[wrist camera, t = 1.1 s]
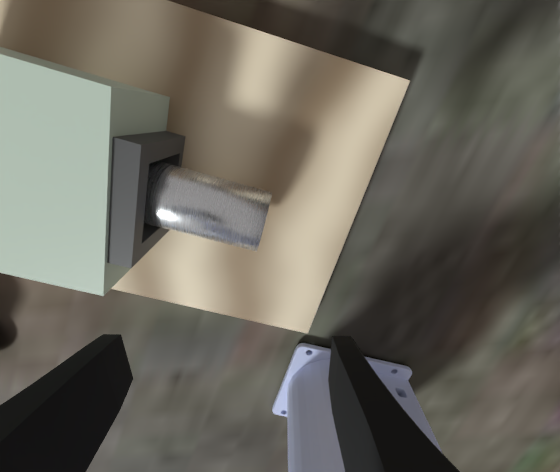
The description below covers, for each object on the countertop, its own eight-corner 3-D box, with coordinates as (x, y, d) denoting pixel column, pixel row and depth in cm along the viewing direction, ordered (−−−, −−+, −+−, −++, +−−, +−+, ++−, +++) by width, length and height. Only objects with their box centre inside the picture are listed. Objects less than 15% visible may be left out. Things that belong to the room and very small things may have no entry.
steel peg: (273, 186, 15) (270, 202, 12) (259, 236, 16) (254, 262, 13) (96, 137, 14) (48, 141, 11) (95, 194, 15) (51, 212, 12)
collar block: (190, 103, 14) (142, 95, 9) (169, 250, 17) (126, 301, 12) (-3, 45, 13) (-166, 5, 8) (13, 212, 16) (-97, 250, 11)
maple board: (398, 84, 15) (410, 80, 13) (305, 319, 21) (307, 333, 19) (-52, -64, 13) (-93, -87, 11) (-9, 245, 19) (-32, 256, 17)
